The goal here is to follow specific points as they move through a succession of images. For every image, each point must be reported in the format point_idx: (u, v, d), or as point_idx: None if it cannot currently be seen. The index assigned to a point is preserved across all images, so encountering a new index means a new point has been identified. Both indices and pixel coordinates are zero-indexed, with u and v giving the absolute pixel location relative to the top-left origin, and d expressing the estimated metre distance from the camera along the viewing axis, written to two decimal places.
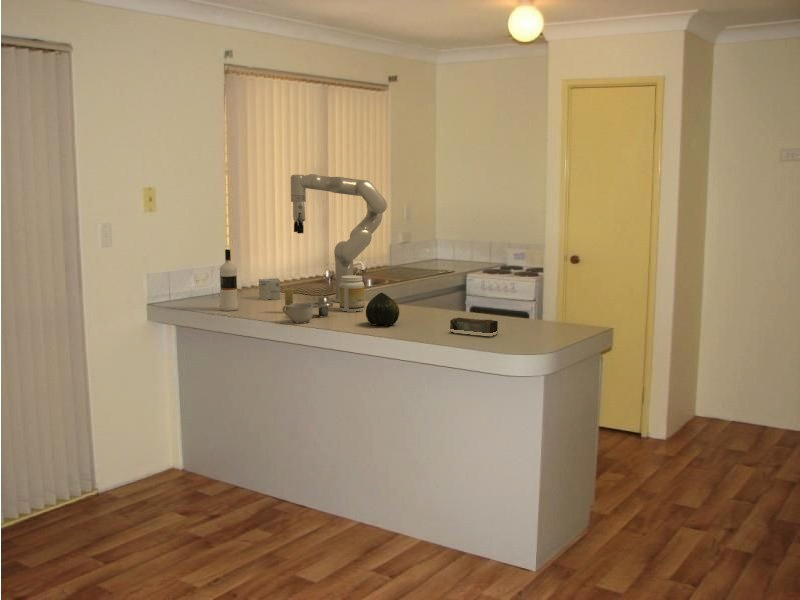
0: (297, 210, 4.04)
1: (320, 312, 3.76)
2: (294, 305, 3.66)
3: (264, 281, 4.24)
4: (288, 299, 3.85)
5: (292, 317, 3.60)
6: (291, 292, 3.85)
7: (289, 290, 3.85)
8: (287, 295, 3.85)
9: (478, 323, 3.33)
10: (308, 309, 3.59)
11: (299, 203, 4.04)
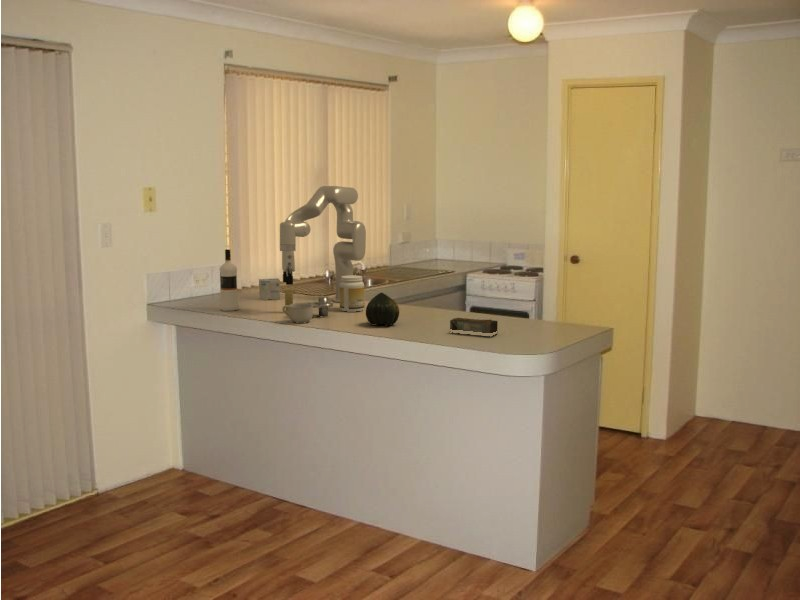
0: (286, 260, 3.79)
1: (320, 312, 3.76)
2: (294, 305, 3.66)
3: (264, 281, 4.24)
4: (288, 299, 3.85)
5: (292, 317, 3.60)
6: (291, 292, 3.85)
7: (289, 290, 3.85)
8: (287, 295, 3.85)
9: (478, 323, 3.33)
10: (308, 309, 3.59)
11: (288, 252, 3.79)
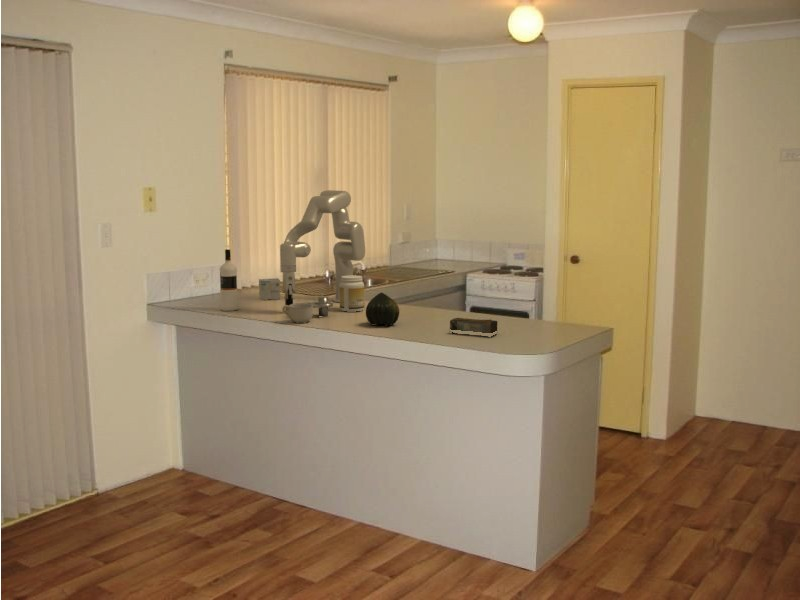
0: (287, 281, 3.80)
1: (320, 312, 3.76)
2: (294, 305, 3.66)
3: (264, 281, 4.24)
4: None
5: (292, 317, 3.60)
6: None
7: None
8: None
9: (478, 323, 3.33)
10: (308, 309, 3.59)
11: (289, 274, 3.80)
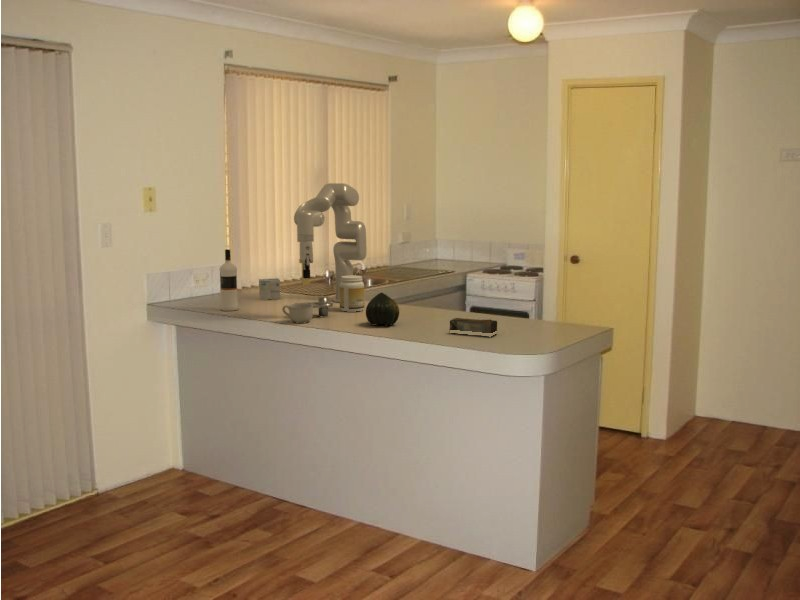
0: (304, 251, 3.66)
1: (320, 312, 3.76)
2: (294, 305, 3.66)
3: (264, 281, 4.24)
4: None
5: (292, 317, 3.60)
6: None
7: None
8: None
9: (478, 323, 3.33)
10: (308, 309, 3.59)
11: (306, 243, 3.66)
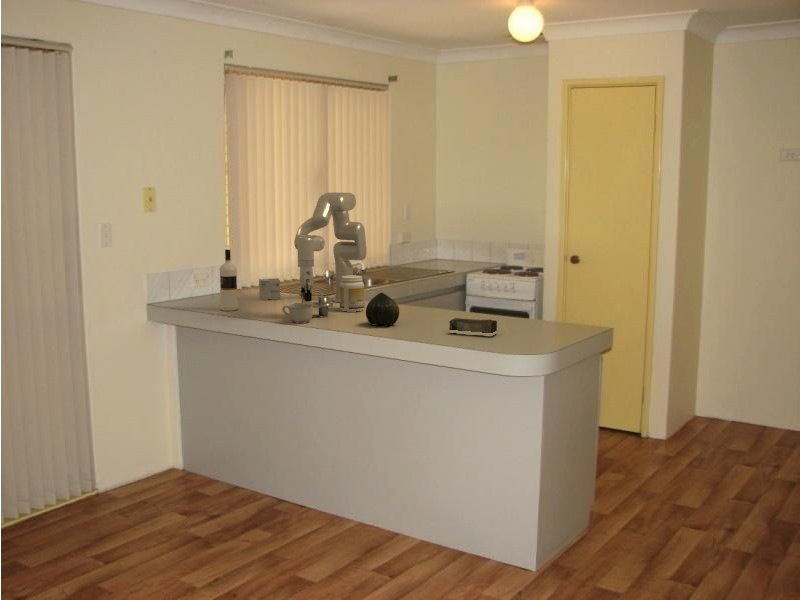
0: (305, 276, 3.68)
1: (320, 312, 3.76)
2: (294, 305, 3.66)
3: (264, 281, 4.24)
4: None
5: (292, 317, 3.60)
6: None
7: None
8: (304, 299, 3.73)
9: (479, 323, 3.33)
10: (308, 309, 3.59)
11: (307, 268, 3.68)
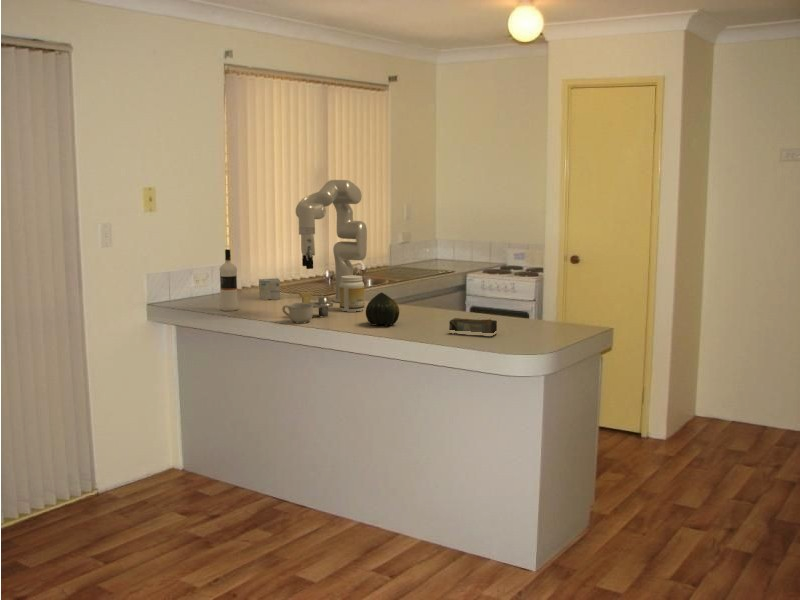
0: (306, 244, 3.70)
1: (320, 312, 3.76)
2: (294, 305, 3.66)
3: (264, 281, 4.24)
4: None
5: (292, 317, 3.60)
6: (309, 296, 3.74)
7: (307, 294, 3.73)
8: (305, 299, 3.73)
9: (479, 323, 3.33)
10: (308, 309, 3.59)
11: (308, 236, 3.70)
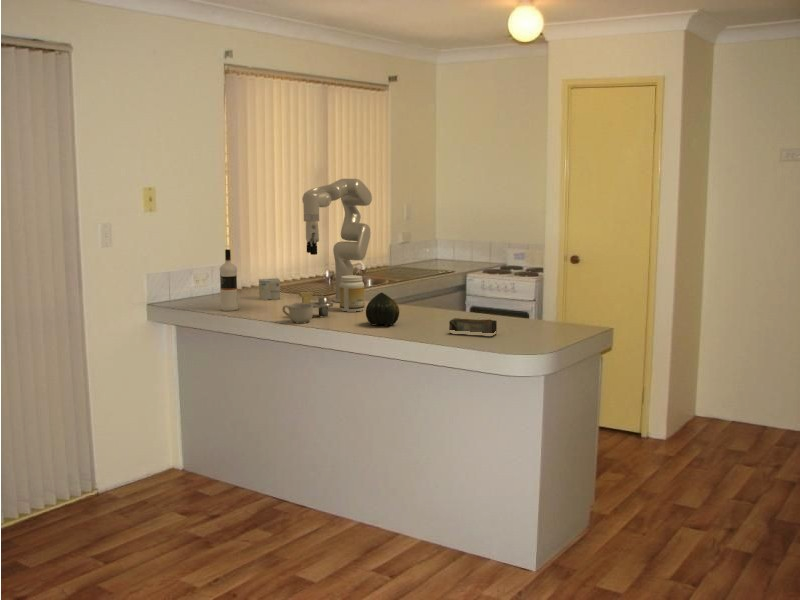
0: (310, 230, 3.82)
1: (320, 312, 3.76)
2: (294, 305, 3.66)
3: (264, 281, 4.24)
4: None
5: (292, 317, 3.60)
6: (309, 296, 3.74)
7: (307, 294, 3.73)
8: (305, 299, 3.73)
9: (479, 323, 3.33)
10: (308, 309, 3.59)
11: (312, 223, 3.82)
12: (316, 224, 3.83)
